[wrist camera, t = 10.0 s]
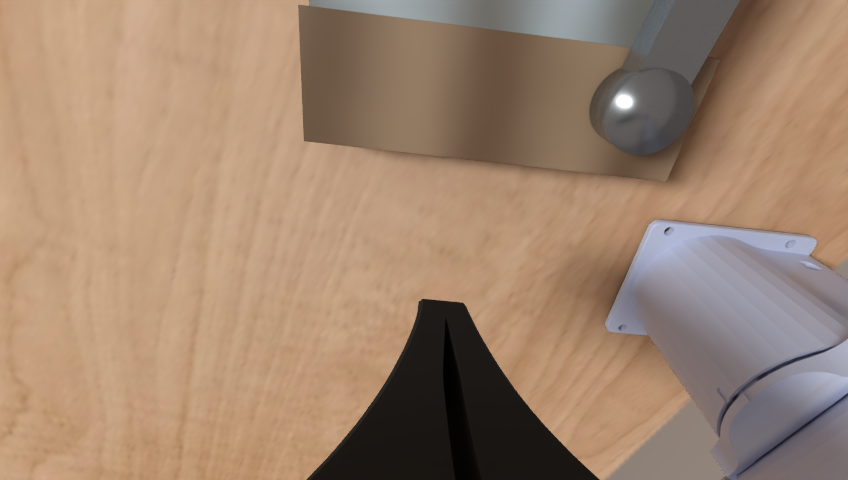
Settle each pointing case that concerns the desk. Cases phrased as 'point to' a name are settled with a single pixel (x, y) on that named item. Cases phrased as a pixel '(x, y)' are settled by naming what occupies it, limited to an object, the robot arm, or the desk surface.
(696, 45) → the latch bar
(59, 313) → the desk surface
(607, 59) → the door board
